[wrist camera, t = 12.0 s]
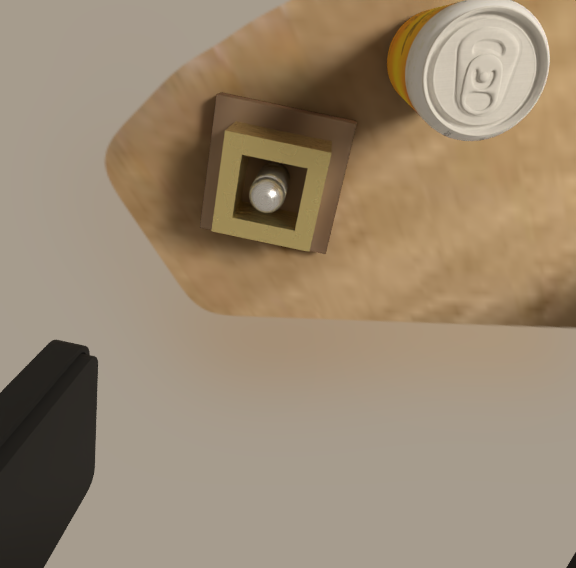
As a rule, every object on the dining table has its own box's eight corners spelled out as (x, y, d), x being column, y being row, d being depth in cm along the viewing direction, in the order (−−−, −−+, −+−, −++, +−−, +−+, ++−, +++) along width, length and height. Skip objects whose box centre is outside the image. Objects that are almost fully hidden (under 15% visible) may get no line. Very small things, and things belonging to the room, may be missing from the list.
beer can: (485, 12, 35) (577, -1, 22) (466, 108, 38) (537, 151, 24) (392, 6, 36) (426, -11, 22) (380, 101, 38) (403, 140, 25)
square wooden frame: (332, 141, 38) (331, 152, 35) (311, 232, 41) (309, 251, 38) (235, 121, 38) (225, 130, 35) (222, 213, 41) (211, 231, 38)
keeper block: (356, 121, 39) (359, 138, 33) (326, 247, 43) (324, 284, 37) (220, 92, 39) (197, 104, 32) (204, 221, 43) (180, 254, 37)
